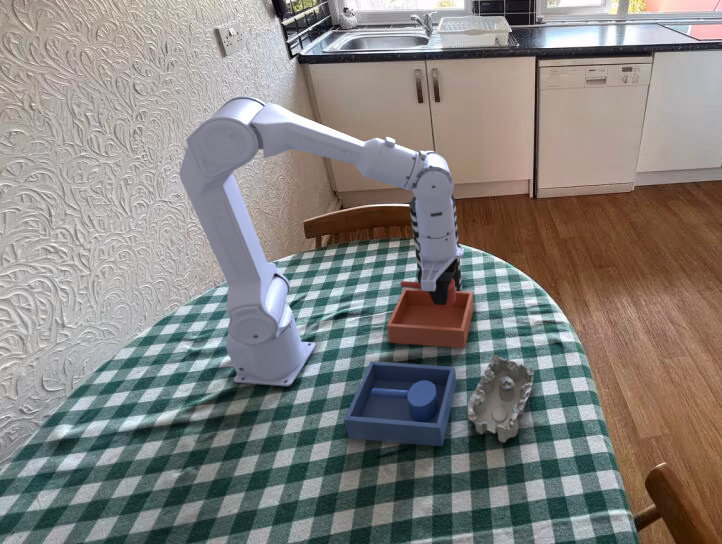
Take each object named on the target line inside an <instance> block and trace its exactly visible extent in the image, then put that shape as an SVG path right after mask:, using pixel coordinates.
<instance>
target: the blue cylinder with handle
mask: <svg viewBox="0 0 722 544" xmlns="http://www.w3.org/2000/svg"><path fill="white" fill-rule="evenodd" d="M371 394H372V395H373V396H381V397H394V398H406V399H408V404H409V409H410V415H411V417H412V419H413V420H414V421H416V422H427V421H429V420H431V419H432V418H433V417H434V416H435V415H436V413H437V410H438V402H437V395H436V388H435V386H434V384H433V383H432V382H430V381H426V380H423V381H419V382H416V383H415V384H413V385H412V386H411V388H410V389H409V391H407V390H394V389H382V388H373V389H372V391H371Z"/></svg>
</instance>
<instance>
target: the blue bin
mask: <svg viewBox="0 0 722 544" xmlns="http://www.w3.org/2000/svg"><path fill="white" fill-rule="evenodd" d="M423 380H426V381H430V382H432V383H433V384H434V386H435V388H436V395H437V402H438V410H437V413H436V415H435V416H434V417H433V418H432V419H431V420H429V421H427V422H416V421H414V420H413V419H412V417H411V415H410V409H409V404H408V399H406V398H394V397H381V396H373V395H372V394H371V391H372V389H373V388H382V389H394V390H407V391H409V389H410V388H411V386H412V385H413V384H415V383H416V382H419V381H423ZM456 389H457V375H456V367H455V366H443V365H432V364H431V365H429V364H418V363H403V362H388V361H374V360H371V361H370V362H369V364H368V366H367V369H366V371H365V373H364V375H363V377H362V379H361V382H360V384H359V386H358V388H357V391H356V393H355V394H354V397H353V399H352V402H351V403H350V406H349V408H348V410H347V412H346V415H345V417H344V418H343V422H344V425H345V429H346V432H347V436H348V439H351V440H353V439H354V440H363V441H365V440H366V441H376V442H388V443H397V444H398V443H399V444H408V445H409V444H410V445H421V446H432V447H443V445H444V442H445V437H446V434H447V429H448V424H449V419H450V415H451V411H452V407H453V403H454V398H455V395H456V394H455V393H456Z"/></svg>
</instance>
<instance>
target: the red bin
mask: <svg viewBox="0 0 722 544" xmlns="http://www.w3.org/2000/svg"><path fill="white" fill-rule="evenodd" d="M455 292H456V301H455V303H454V304H453V305H452V306H450V307H447V308H438V307H436V306H435V305H434V304H433V301H432V299H431V297H430V295H429V293H428V291H422V289H420V288H407V287H403V290H402V292H401V294H400V296H399V298H398V301H397V303H396V305H395V307H394V309H393V312H392V313H391V316H390V318H389V320H388V323H387V324H386V330H387V335H388V341H389V343H390V344H399V345H416V346H429V347H444V348H458V349H459V348H460V349H465V348H466V344H467V340H468V336H469V332H470V328H471V324H472V323H471V322H472V318H473V314H474V309H475V304H474V301H475V300H474V292H473V291H465V290H460V291H455Z"/></svg>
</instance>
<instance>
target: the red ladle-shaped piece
mask: <svg viewBox="0 0 722 544" xmlns="http://www.w3.org/2000/svg"><path fill="white" fill-rule="evenodd" d="M400 287H401V288H413V289H420V288H421V284H420V283H419V282H418V281H410V280H409V281H406V280H403V281H401V282H400ZM455 301H456V292H455V281H454V279H453V278H452V280H451V282H450V284H449V290H448V300H447V303H446V305H435V304H434V303H433V304H434V305H435V306H436V307H438V308H447V307H450V306H452V305H453V304H454V303H455Z"/></svg>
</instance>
